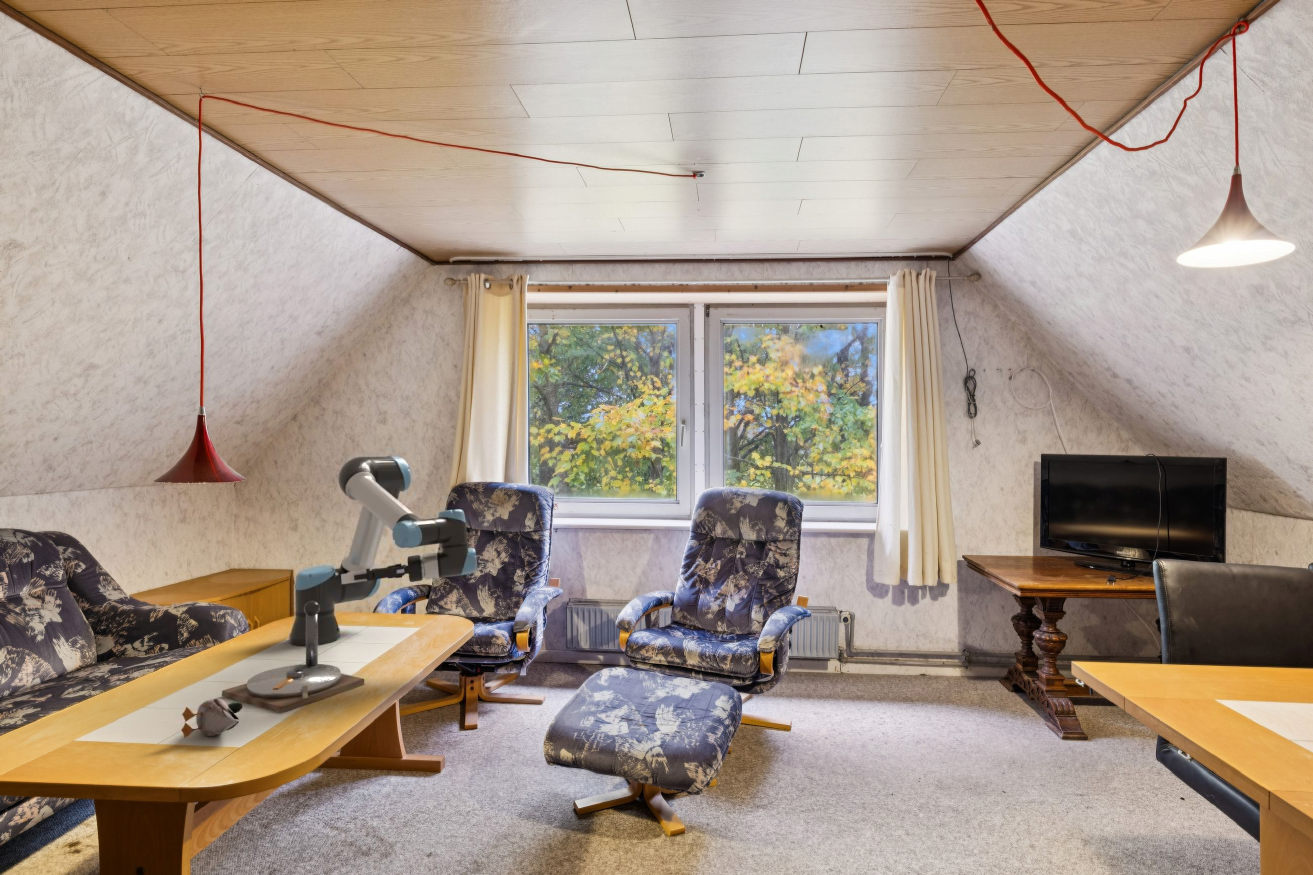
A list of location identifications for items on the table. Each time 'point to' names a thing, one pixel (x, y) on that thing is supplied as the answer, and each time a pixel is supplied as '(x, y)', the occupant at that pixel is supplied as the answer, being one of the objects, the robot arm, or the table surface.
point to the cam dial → (298, 668)
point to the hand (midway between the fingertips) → (344, 578)
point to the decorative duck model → (213, 717)
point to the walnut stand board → (292, 702)
